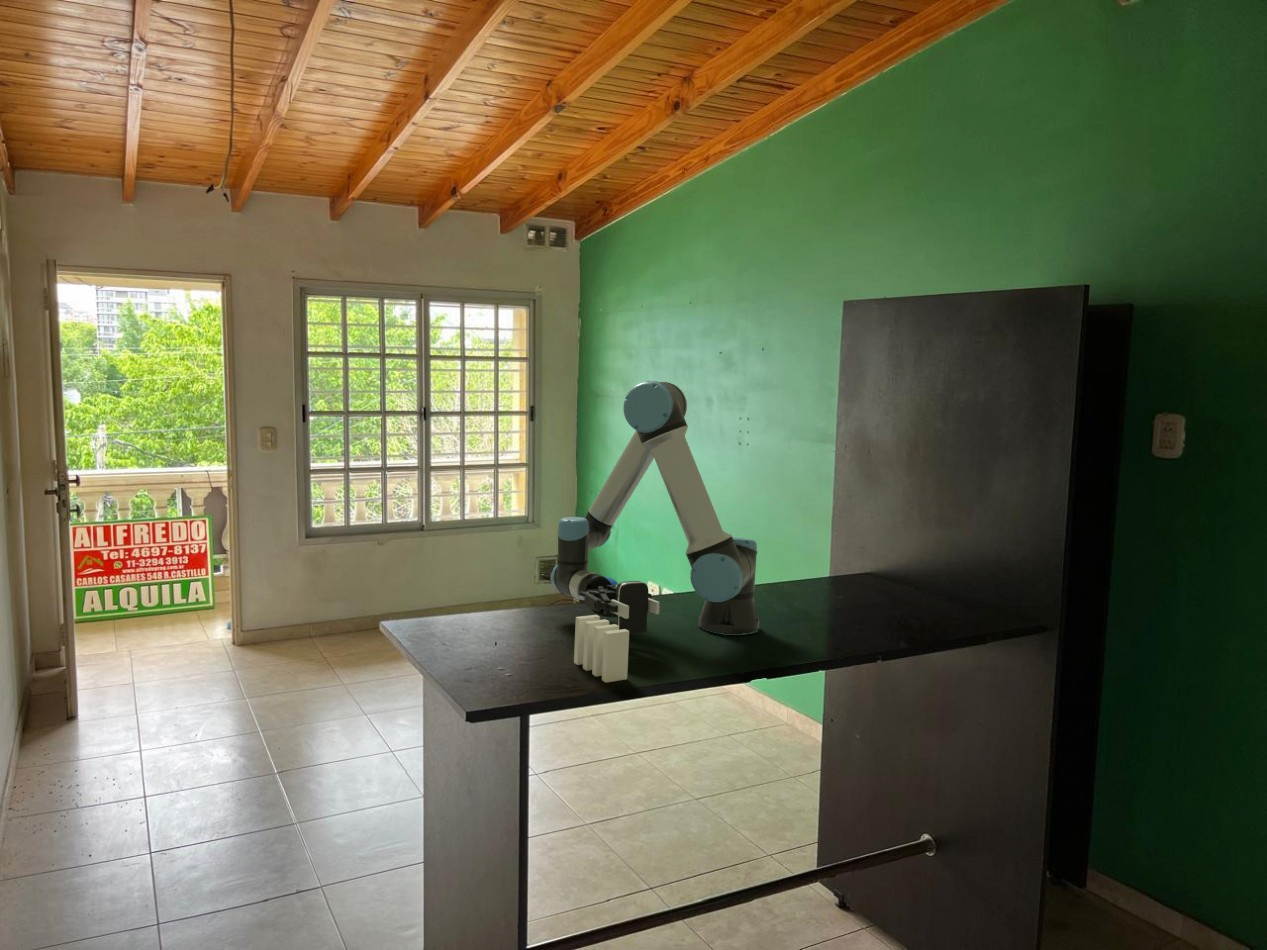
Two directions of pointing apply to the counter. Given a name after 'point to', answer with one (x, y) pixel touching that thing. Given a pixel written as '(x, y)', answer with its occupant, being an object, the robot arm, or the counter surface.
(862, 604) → the counter surface
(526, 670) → the counter surface
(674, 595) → the counter surface
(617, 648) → the tile
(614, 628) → the tile
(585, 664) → the tile
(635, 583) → the battery charger
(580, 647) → the tile
